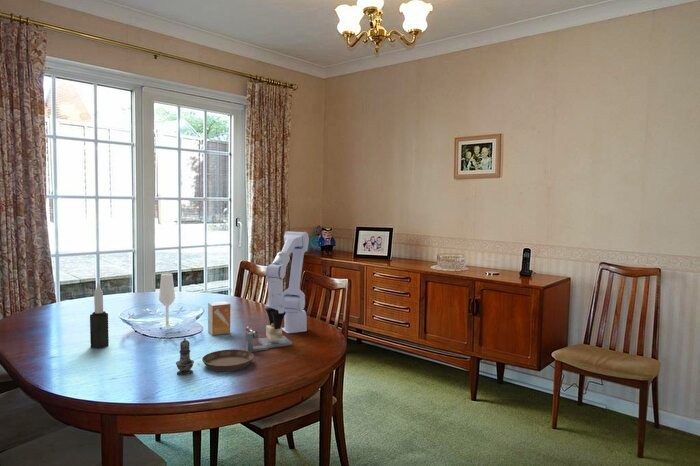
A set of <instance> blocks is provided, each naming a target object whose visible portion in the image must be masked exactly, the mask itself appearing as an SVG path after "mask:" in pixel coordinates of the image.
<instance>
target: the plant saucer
mask: <svg viewBox="0 0 700 466" xmlns="http://www.w3.org/2000/svg"><path fill="white" fill-rule="evenodd" d="M253 358H254V353H253V352H248V351H246V349H245V350H244V349H235V348H233V349H221V350H217V351H211V352H209V353H207V354H205V355H204V356H202V358H201V360H202V362H203V364H204V365H205V367H207V368H208V369H209V370H211V371H215V372H216V371H217V372H232V371H233V372H235V371H238V370H241V369H243V368H246V367H247V366H248V365H250V363H251V362H252V360H253Z"/></svg>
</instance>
